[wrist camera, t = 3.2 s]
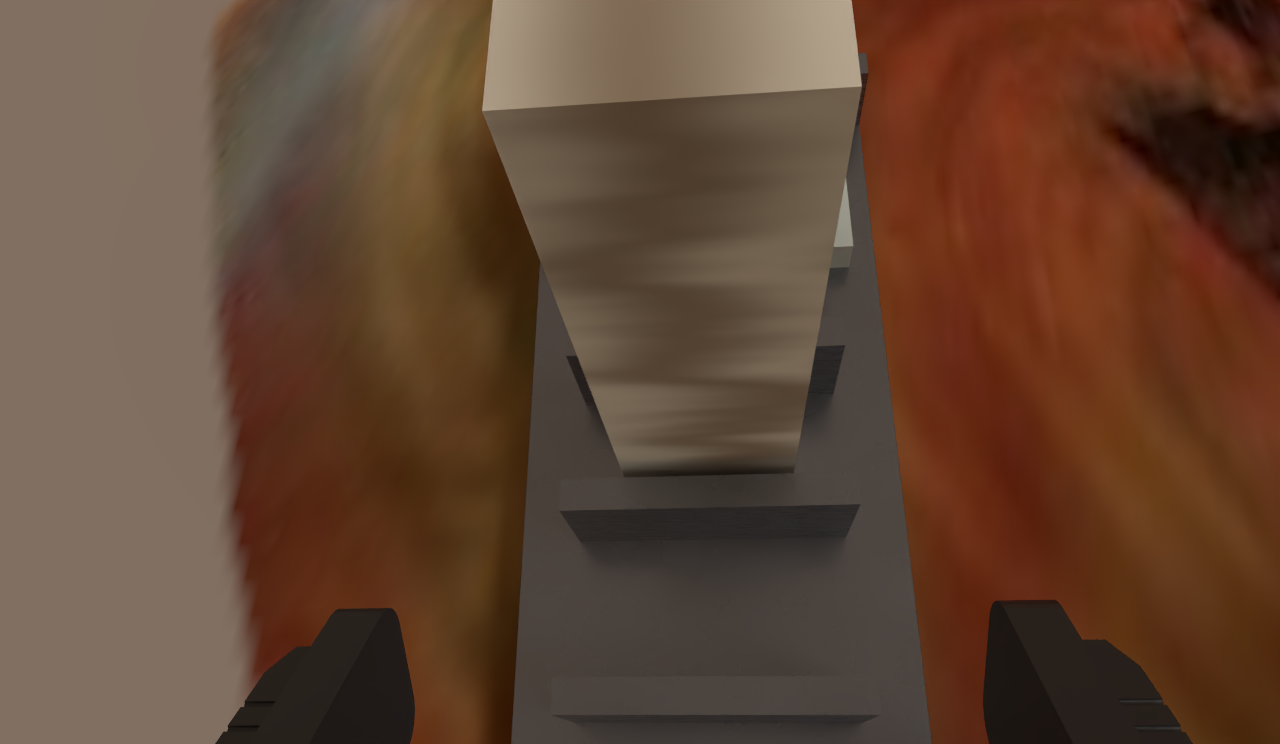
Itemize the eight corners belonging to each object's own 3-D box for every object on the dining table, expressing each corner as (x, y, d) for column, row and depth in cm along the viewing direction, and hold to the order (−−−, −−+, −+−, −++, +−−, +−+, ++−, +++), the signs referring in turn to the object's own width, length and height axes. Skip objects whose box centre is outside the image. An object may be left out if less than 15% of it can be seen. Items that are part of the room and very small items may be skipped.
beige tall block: (785, 411, 32) (843, -65, 14) (790, 491, 31) (861, 86, 13) (632, 415, 33) (496, -37, 14) (631, 495, 31) (482, 110, 13)
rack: (852, 129, 39) (869, 33, 34) (950, 989, 26) (1000, 1040, 21) (554, 147, 40) (528, 57, 35) (508, 977, 27) (456, 1022, 22)
